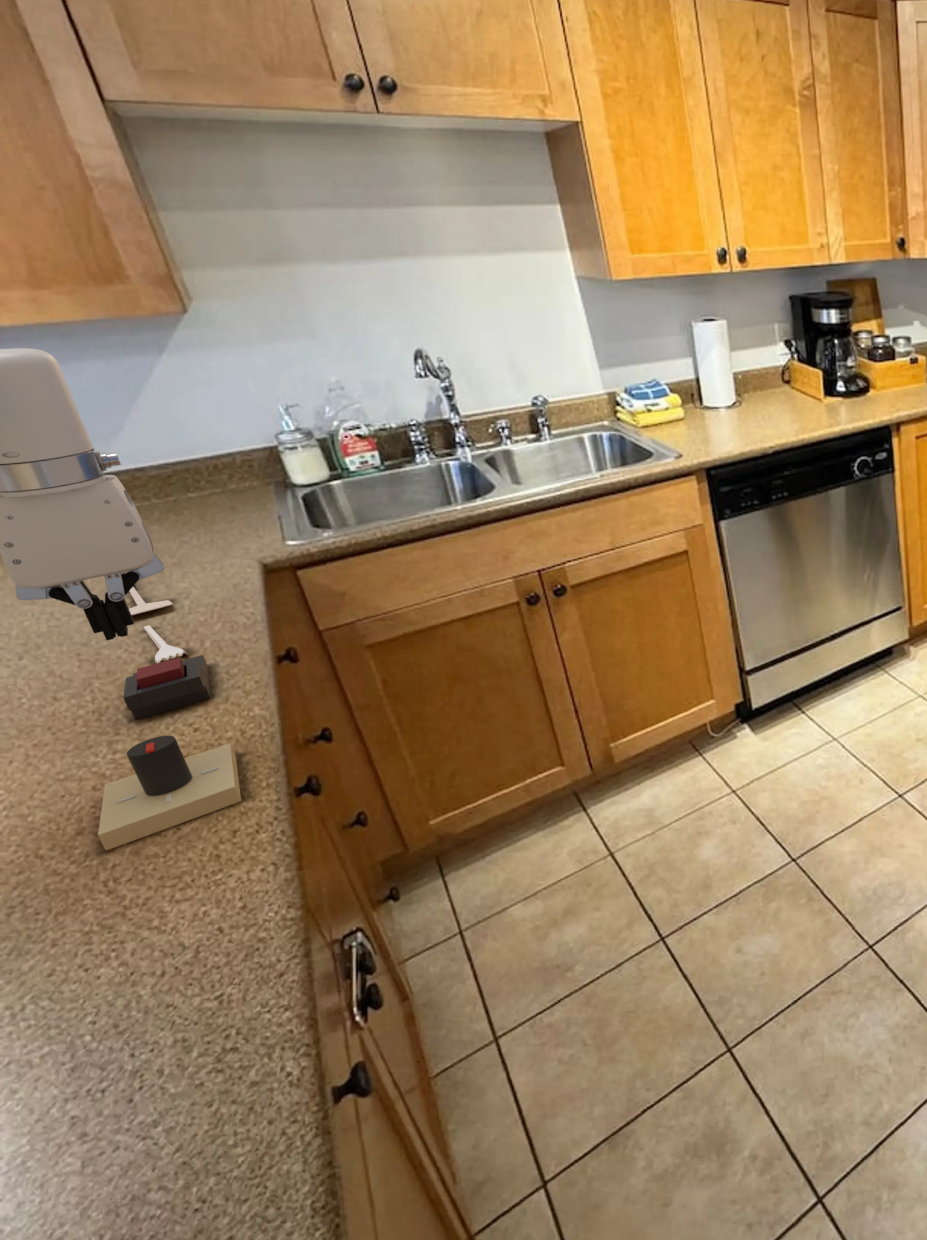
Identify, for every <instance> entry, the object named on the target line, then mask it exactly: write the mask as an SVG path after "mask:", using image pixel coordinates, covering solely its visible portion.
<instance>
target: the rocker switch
mask: <svg viewBox="0 0 927 1240" xmlns="http://www.w3.org/2000/svg"><path fill="white" fill-rule="evenodd" d="M181 661H182V663H183V666H184V668H185V677H184V678H180V679H176V680H173V681H169V682H165V683H162V684H158V685H155V686H151V687H147V688H144V689H140V687H139V685H138V683H137V681H136V677H137V672H133V673H132V675H131V676H127V677H125V681H124V690H123V697H122V698H123V700H124V703H125V705H126V707H127V709H128V711H129V712H131V714H132V716H133V718H134V720H135V721H137V720H141V719H144V718H148V717H151V716H154V715H159V714H160V713H164V712H167V711H171V710H175V709H178V708H181V707H184V706H188V705H191V704H195V703H199V702H202V701H205V700H208V699H211V685H210V673H209V672H210V671H209V665H208V663H207V661H206V659H205V656H204V654H200V655H198V656H193V657H189V658H186V659H181Z"/></svg>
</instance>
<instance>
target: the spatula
mask: <svg viewBox="0 0 927 1240" xmlns="http://www.w3.org/2000/svg"><path fill="white" fill-rule="evenodd" d="M129 593H130V595H131V597H132V598H133V601H134V602H135V604H136V605H134V606H132V607H130V608H129V611H130V613H131V615H132V616H134V615H138V614H143V613H146V612H151V611H154V610H157V609H162V608H165V607H169V606H172V605H174V603H173V602H172V601H170V600H169V599H167V600H166V599H165V600H159V601H153V602H146V601H145V600H144V599H143V598H142V596H141V595H140V594H139V592H138V591H137V590H136V584H135V585H134V586H133V587H132V588H131V590H130V591H129Z"/></svg>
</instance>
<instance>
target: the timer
mask: <svg viewBox="0 0 927 1240" xmlns="http://www.w3.org/2000/svg"><path fill="white" fill-rule="evenodd" d="M184 759H185V761H186V763H187V765H188V768H189V770H190V772H191V774H192V779H191V780H190V781H189V782H188V783H187V784H185V785H184V786H182V787H180V788H178V789H176V790H174V791H171V792H168V793H165V794H161V795H156V796H149V795H146V794H145V792H144V790H143V788H142V786H141V783H140V781H139V779H138V777H137V775H136V773H135V774H132V775H129V776H125V777H122V778H119V779H117V780H113V781H110V782H107V783H105V784H104V787H103V788H104V789H103V795H102V802H101V810H100V817H99V825H98V830H97V837H98V839H99V840H100V842H101V845H102V847H103V849H104V851H109V850H112V849H114V848H117V847H120V846H123V845H126V844H127V843H131V842H134V841H136V840H139V839H141V838H144V837H148V836H149V835H153V834H156V833H158V832H161V831H163V830H166V829H170V828H172V827H174V826H177V825H180V824H183V823H186V822H188V821H191V820H193V819H196V818H199V817H201V816H205V815H207V814H210V813H213V812H216V811H218V810H221V809H224V808H226V807H229V806H231V805H234V804H237V803H241V801H242V796H241V788H240V781H239V779H240V778H239V771H238V763H237V756H236V754H235V752H234V749H233V746H232V745H231V743H227V744H223V745H220V746H217V747H215V748H211V749H208V750H206V751H202V752H199V753H197V754H193V755H190V756H187V757H184Z"/></svg>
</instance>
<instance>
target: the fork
mask: <svg viewBox="0 0 927 1240" xmlns="http://www.w3.org/2000/svg"><path fill="white" fill-rule="evenodd" d="M143 629H144V631H145V633H146V634H147V635H148V636H149V638H150V639H151V640H152V641H153V643H154V644H155V646H156V648H158V651H157V652H156V654H155V656H154V662H155V664H157V663H160V662H164V661H168V660H172V659H176V658H180V657H183V655H184V654H185V655H188V653H187V652H186V651H185V650H184V649H183V648H180V647H178V646H173V645H169V644H168V643H167V642H166V641H165V640H164V639H163V638H162V637H161V636H160V635H159V634H158V633H157V632H156V631H155V630H154V628H153V627H152V626H151V625H149V624H148V625H145V626H143Z"/></svg>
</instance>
